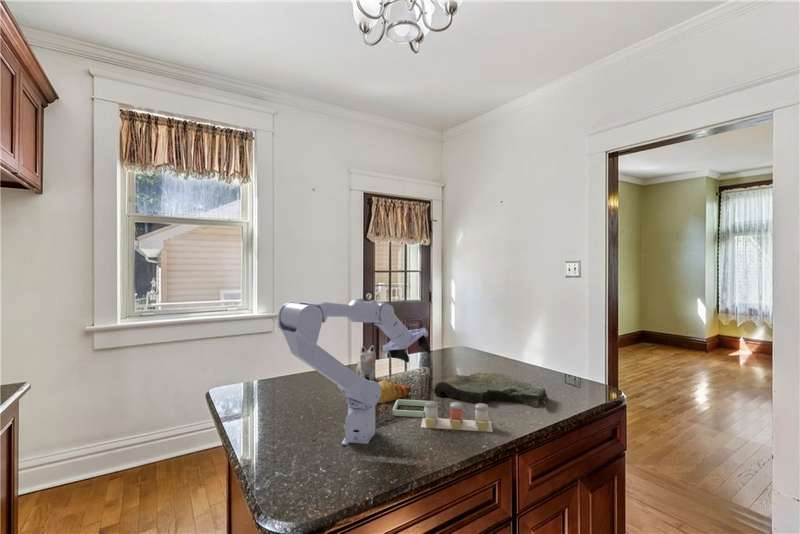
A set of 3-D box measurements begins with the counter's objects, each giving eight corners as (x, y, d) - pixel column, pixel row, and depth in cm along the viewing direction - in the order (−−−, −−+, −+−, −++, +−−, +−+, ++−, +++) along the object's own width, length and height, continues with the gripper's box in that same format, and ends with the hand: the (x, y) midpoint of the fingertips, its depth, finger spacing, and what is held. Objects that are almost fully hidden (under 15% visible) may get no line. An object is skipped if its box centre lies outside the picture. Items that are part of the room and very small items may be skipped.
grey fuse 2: (488, 429, 103) (488, 408, 103) (475, 428, 104) (475, 407, 104) (487, 423, 107) (487, 403, 107) (474, 422, 107) (474, 403, 107)
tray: (425, 420, 111) (425, 412, 111) (391, 418, 113) (391, 410, 113) (427, 408, 120) (427, 400, 120) (396, 406, 122) (396, 399, 122)
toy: (362, 390, 137) (362, 349, 137) (353, 375, 156) (353, 339, 155) (379, 388, 139) (379, 348, 139) (369, 373, 157) (368, 338, 157)
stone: (559, 387, 125) (506, 406, 107) (558, 406, 125) (505, 428, 108) (477, 362, 153) (424, 375, 135) (476, 378, 153) (423, 392, 135)
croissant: (355, 419, 121) (359, 401, 117) (346, 396, 128) (349, 378, 125) (413, 406, 130) (418, 389, 127) (401, 385, 138) (406, 368, 134)
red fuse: (462, 427, 104) (462, 407, 104) (449, 426, 105) (449, 406, 105) (462, 421, 108) (462, 402, 108) (449, 421, 108) (449, 401, 108)
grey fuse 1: (437, 425, 105) (437, 405, 105) (424, 425, 106) (424, 405, 106) (438, 420, 109) (438, 401, 109) (425, 419, 110) (425, 400, 109)
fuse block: (492, 435, 102) (492, 423, 102) (420, 430, 105) (420, 419, 105) (490, 424, 108) (490, 413, 108) (422, 420, 111) (422, 409, 111)
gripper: (416, 311, 112) (437, 336, 119) (375, 330, 116) (398, 353, 123) (418, 329, 106) (440, 354, 114) (375, 348, 110) (399, 371, 118)
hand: (418, 355), depth 118 cm, fingers open, 7 cm apart
